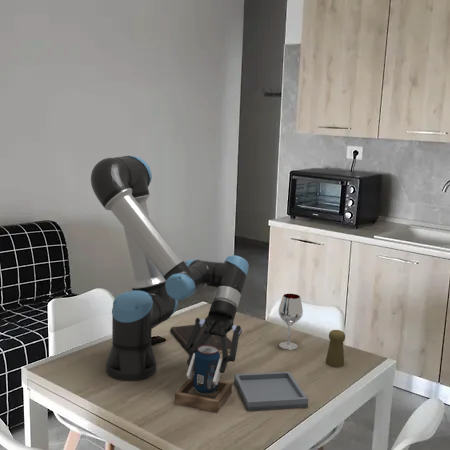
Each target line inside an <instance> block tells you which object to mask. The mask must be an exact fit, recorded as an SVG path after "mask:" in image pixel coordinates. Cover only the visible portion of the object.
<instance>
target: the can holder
mask: <svg viewBox="0 0 450 450" xmlns="http://www.w3.org/2000/svg"><path fill="white" fill-rule="evenodd" d="M193 379H194V374H193V375H192V378H191V379H188V378H187V379H186V380H185V381H184V383H183V384H182V385H181V386H180V387H179V388H178V389H177V390H176V391H175V392H174V404H175V405H180V406H184V407H187V408H193V409H197V410H203V411H207V412H212V413H213V412H214V413H217V414H218V413H219V412H220V410H221V409H222V407H223V406H224V405H225V403H226V401H227V400H228V399H229V397H230V395H232V393H233V382H229V381H226V380H220V379H219V381H218V388H217V389H216V390H215V392H216V393H217V392H218V393H219V394H218V395H217V396H216V398H210V397H205V396H201V395H200V396H199V395H196V394H195V395H194V394H190V392H191V391H192V390H193V388H194V386H193Z"/></svg>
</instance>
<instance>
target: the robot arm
mask: <svg viewBox="0 0 450 450" xmlns="http://www.w3.org/2000/svg"><path fill="white" fill-rule="evenodd" d="M151 182H152V170H151V168H150V166H149V164H148V163H147V162H146V161H145V160H144V159H142V158H140V157H138V156H136V155H124V156H123V155H122V156H117V157H115V156H114V157H107V158H104V159H101V160H100V161H98V162H97V163H96V164H95V165H94V167H93V168H92V170H91V175H90V185H91V188H92V191H93V193H94V195H95V197H96V198H97V200H98V202H99V203H100V204H101V206H102V207H103V208H104V209H105V210H106V211H111V213H112V214H113V216H115V218H116V219H117V220H118V221H119V223H120V224H121V225H122V226H123V231H124V236H125V240H126V244H127V248H128V249H127V250H128V254H129V258H130V263H131V267H132V268H131V269H132V272H133V277H134V282H133V283H132V285H131V290H130V291H124V292H122V293H120V294H117V296H115V298H114V300H113V302H112V308H111V314H112V318H111V319H112V323H111V325H112V326H111V327H112V331H111V332H112V336H111V337H112V338H111V339H112V342H111V343H112V346H111V349H110V352H109V354H108V357H107V360H106V363H105V364H106V365H105V369H106V370H105V372H106V373H107V375H108V376H109V377H111V378H114V379H116V380H118V381H119V380H120V381H129V382H130V381H139V380H140V381H141V380H145V379H148V378H149V377H152V376H153V375H154V374H155V373H156V372H157V363H158V362H157V360H156V355H155V353H154V349H153V346H152V329H155V328H156V327H157V326H159V325H160V324H163V322H165V321H168V320H169V319H170V318H171V317H172V315H174V314H175V312H176V311H177V309H178V305H179V304H178V303H179V301H181V300H183V301H184V300H185V299H187V298H189V297H192V296H193V295H194V294H195V293H197V292H198V291H201V290H202V289H203V288H205V287H211V288H216V289H215V292H214V296H213V299H212V302H211V304H210V309H209V311H208V315H207V316H206V317H205V318H203V319H202V318H201V319H200V318H199V317H196V318H195V321H194V322H195V323H194V325H195V327H194V329H193V331H192V333H191V335H190V338H189V340H188V342H187V344H186V346H185V349H186V350H187V351H186V350H185V349H184V350H185V351H186V353H190V355H189V354H188V359H187V361H186V362H187V363H186V364H187V366H188V370H187V372H186V375H185V376H186V377H187V379H191V378H192V375H194V362H195V353H196V351H197V348H198V347H199V346H201V345H204V344H205V342H206V341H207V340H208V338H210V337H211V336H212V335H218V336H221V344H222V353H221V354H222V355H221V356H222V358H221V357H220V358H219V361H218V365H217V368H216V372H215V375H214V378H213V383H214V384H215V385H217V384H218V381H219V380H220V377H221V374H224V373H225V372H226V368H227V366H228V363H230V362H234V363H235V361H236V359H237V358H236V357H237V350H238V346H239V345H238V344H239V338H240V336H241V334H242V332H243V330H242V326H241V325H236V324H234V320H235V317H236V314H237V308H238V306H239V304H240V300H241V297H242V293H243V290H244V286H245V284H246V280H247V277H248V272H249V267H250V265H249V262H248V261H247V260H246V259H245V258H244V257H242V256H240V255H235V254H231V255H229V256H227V257H226V258H225V259H224V262H219V261H217V262H216V261H208V260H201V259H187V260H186V261H184V259H182V257H181V256H180V255H179V253H178V252H177V251H176V249H175V248H174V247H173V246H172V244H171V243H170V242H169V241H168V239H167V238H166V237H165V236H164V234H163V233H162V232H161V230H160V229H159V227H158V226H157V225H156V224H155V223H154V221H153V220H152V219H151V217H150V214H149V209H148V206H147V200H148V198H149V197H150V190H149V186H150V183H151ZM204 324H206V326H207V328H206V329H205V330H204V333H203V334H202V335H201V337H200V338H199V339H198V341H197V342H196V343H195V341H196V339H197V337H198V335H199V333H200V330H201V327H203V325H204ZM231 330H232V338H231V339H232V340H231V342H232V344H231V350H230V352H228V350H227V338H228V337H227V336H228V335H227V334H228V333H229V332H230V331H231ZM194 344H195V345H194Z"/></svg>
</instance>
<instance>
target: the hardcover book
mask: <svg viewBox="0 0 450 450" xmlns="http://www.w3.org/2000/svg"><path fill="white" fill-rule="evenodd" d="M194 327H195V324H189V325H180V326H172V327H171V328H170V334H171V335H172V336H173V337H174V338H175V339H176V340H177V342H178V343H179V344H180V346H181V347H182V348H183V349H184V350H185V351H186V352H187V350H186V349H185V346H186V344H187V342H188V340H189V338H190V335H191V333H192V331H193V329H194ZM206 328H207V326H206V324H204V325H203V327H201V330H200V333H199V335H198V337H197V339H196V341H195V343H196V342H197V341H198V339H199V338H200V337H201V335H202V334H203V333H204V330H205V329H206ZM231 344H232V340H230V339H229V338H228V337H227V350H228V353H230V350H231ZM194 345H195V344H194ZM204 345H213V346H215V347H217V348H218V352H219V354H222V344H221V336H218V335H212V336H211V337H210V338H208V340H207V341H206V342H205V344H204ZM187 353H188V352H187ZM189 355H190V353H188V356H189Z"/></svg>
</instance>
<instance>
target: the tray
mask: <svg viewBox="0 0 450 450" xmlns="http://www.w3.org/2000/svg"><path fill="white" fill-rule="evenodd" d="M233 377H234V378H233V382H234V385H235V387H236V389H237V391H238V394H239V395H240V397H241V399H242V402H243V404H244V406H245V408H246V410H247V412H250V411H252V412H253V411H267V410H268V411H269V410H284V409H297V408H298V409H299V408H308V406H309V397H308V396H307V395H306V393H305V392H304V390H303V388H301V386H300V385H299V383H298V382H297V380H296V379H295V377H294V376H293V374H292V373H291V372H290V371H278V372H277V371H274V372H273V371H272V372H271V371H270V372H257V373H256V372H255V373H254V372H253V373H252V372H251V373H234V376H233Z"/></svg>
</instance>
